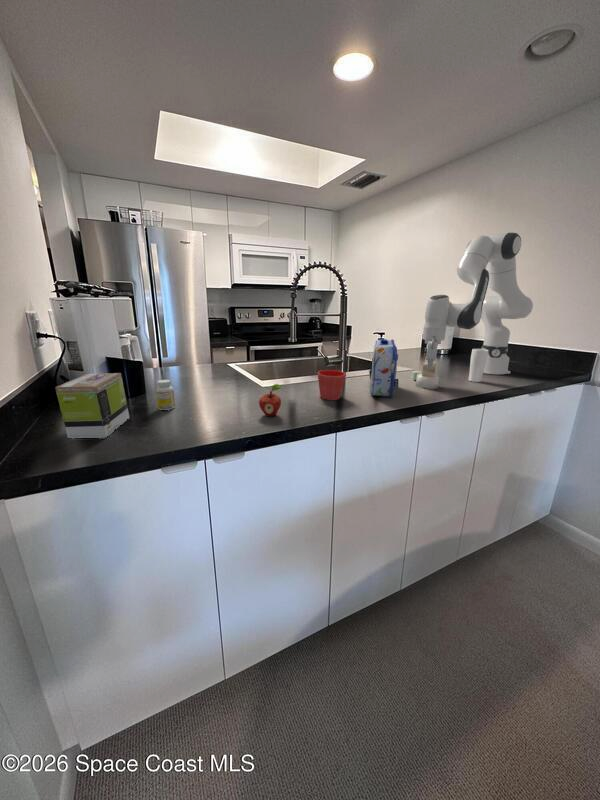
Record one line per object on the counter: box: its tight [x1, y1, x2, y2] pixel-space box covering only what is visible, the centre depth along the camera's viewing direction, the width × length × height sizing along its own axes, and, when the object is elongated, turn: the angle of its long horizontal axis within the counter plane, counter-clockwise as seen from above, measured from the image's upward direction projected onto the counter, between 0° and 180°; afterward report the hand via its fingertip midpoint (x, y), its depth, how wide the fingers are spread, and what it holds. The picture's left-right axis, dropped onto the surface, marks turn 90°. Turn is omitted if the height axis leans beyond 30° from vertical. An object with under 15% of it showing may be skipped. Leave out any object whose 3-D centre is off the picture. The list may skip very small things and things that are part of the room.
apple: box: [258, 383, 282, 417], centre depth 101 cm, size 8×7×10 cm
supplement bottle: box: [155, 379, 176, 411], centre depth 106 cm, size 5×5×10 cm
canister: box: [415, 373, 440, 390], centre depth 140 cm, size 9×9×5 cm
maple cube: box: [421, 362, 437, 377], centre depth 138 cm, size 5×5×5 cm
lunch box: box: [369, 338, 399, 398], centre depth 128 cm, size 28×10×22 cm, turn 168°
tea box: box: [54, 372, 130, 439], centre depth 88 cm, size 15×10×15 cm, turn 5°
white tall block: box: [468, 348, 489, 383], centre depth 148 cm, size 7×7×15 cm
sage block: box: [410, 370, 422, 381], centre depth 151 cm, size 4×4×4 cm
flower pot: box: [317, 369, 347, 401], centre depth 121 cm, size 11×11×10 cm
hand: (429, 367), depth 138 cm, fingers open, 8 cm apart
